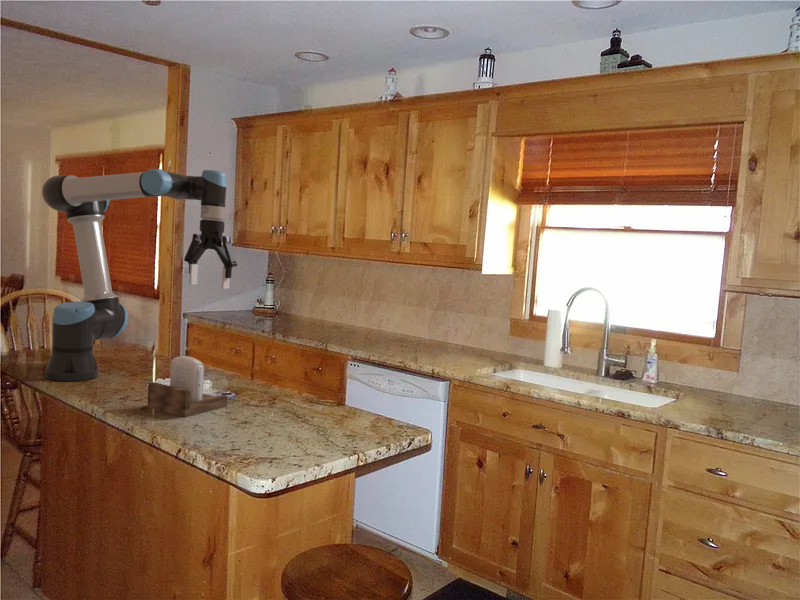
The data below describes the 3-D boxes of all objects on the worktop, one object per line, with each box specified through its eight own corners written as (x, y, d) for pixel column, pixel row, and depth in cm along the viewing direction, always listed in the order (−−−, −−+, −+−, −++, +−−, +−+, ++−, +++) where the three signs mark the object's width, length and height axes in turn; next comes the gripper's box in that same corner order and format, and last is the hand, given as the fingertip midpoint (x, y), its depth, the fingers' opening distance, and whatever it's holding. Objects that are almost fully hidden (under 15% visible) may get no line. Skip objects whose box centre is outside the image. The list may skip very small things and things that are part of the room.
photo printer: (204, 402, 180) (207, 358, 179) (193, 405, 176) (195, 360, 175) (179, 395, 185) (181, 353, 184) (166, 398, 181) (168, 354, 180)
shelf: (147, 407, 177) (148, 382, 177) (190, 397, 192) (191, 374, 191) (185, 417, 171) (186, 391, 171) (226, 406, 185) (228, 382, 185)
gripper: (174, 217, 208) (171, 282, 210) (234, 221, 197) (231, 290, 199) (192, 218, 215) (189, 282, 217) (250, 222, 204) (247, 289, 205)
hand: (209, 286), depth 208 cm, fingers open, 13 cm apart
